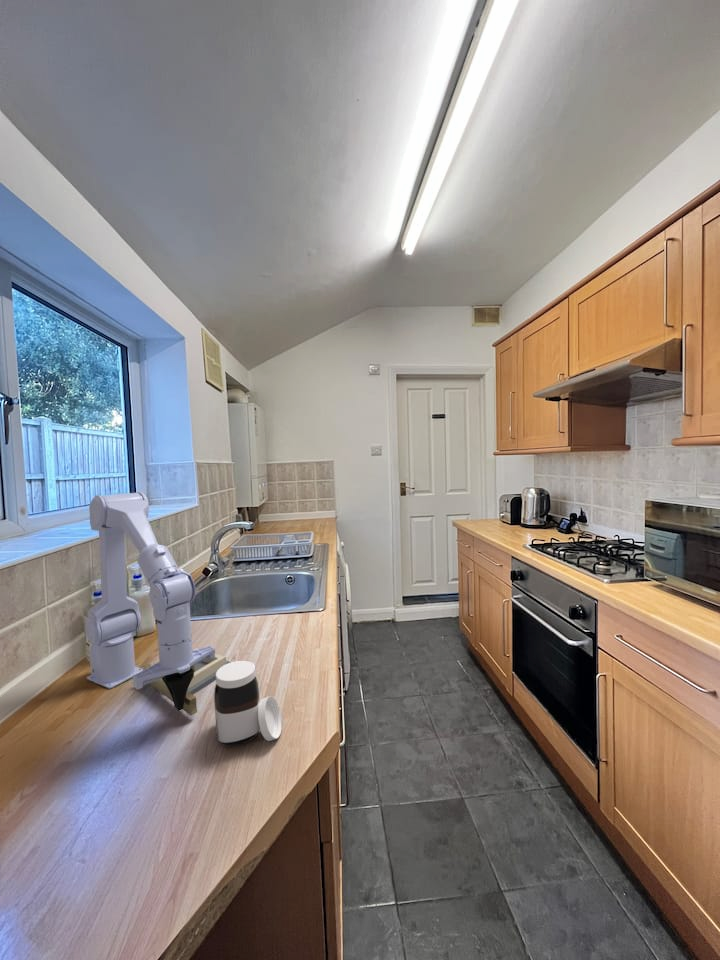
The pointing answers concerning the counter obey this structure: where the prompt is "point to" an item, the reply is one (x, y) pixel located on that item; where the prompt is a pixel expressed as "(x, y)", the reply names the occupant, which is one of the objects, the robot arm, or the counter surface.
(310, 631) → the counter surface
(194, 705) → the bar
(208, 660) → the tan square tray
